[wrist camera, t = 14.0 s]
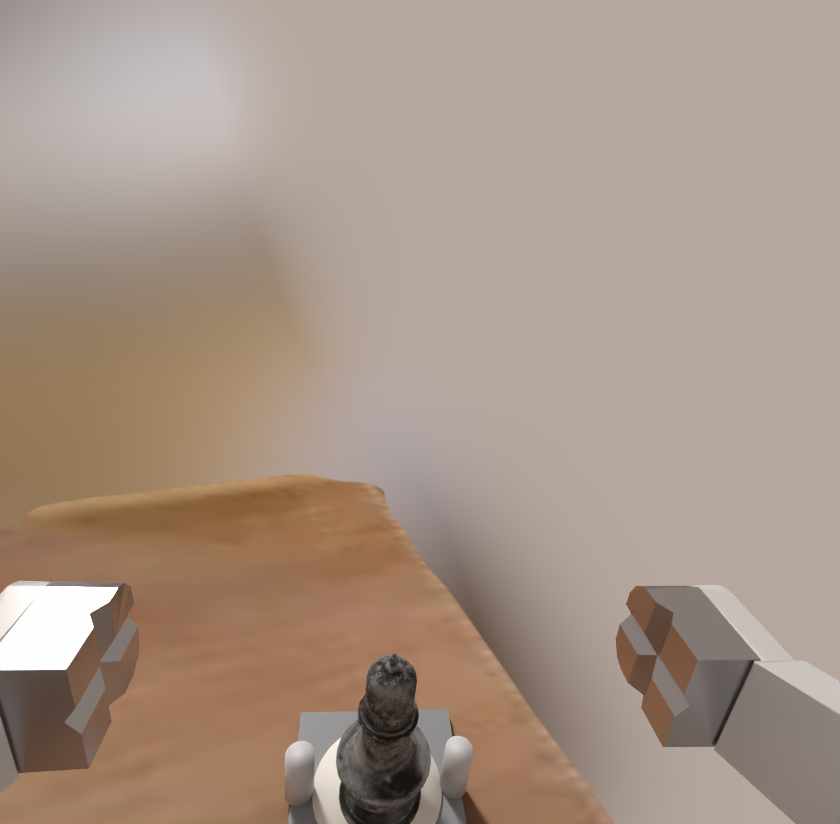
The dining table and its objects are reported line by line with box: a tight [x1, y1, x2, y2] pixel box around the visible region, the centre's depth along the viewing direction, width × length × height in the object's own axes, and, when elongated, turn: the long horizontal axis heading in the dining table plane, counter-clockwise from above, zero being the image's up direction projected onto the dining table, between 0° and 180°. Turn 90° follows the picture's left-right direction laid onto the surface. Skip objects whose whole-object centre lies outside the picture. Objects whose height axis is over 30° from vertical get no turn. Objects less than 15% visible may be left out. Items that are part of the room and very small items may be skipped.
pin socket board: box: [285, 709, 473, 824], centre depth 33 cm, size 12×11×4 cm
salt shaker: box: [336, 654, 431, 824], centre depth 31 cm, size 6×6×12 cm
